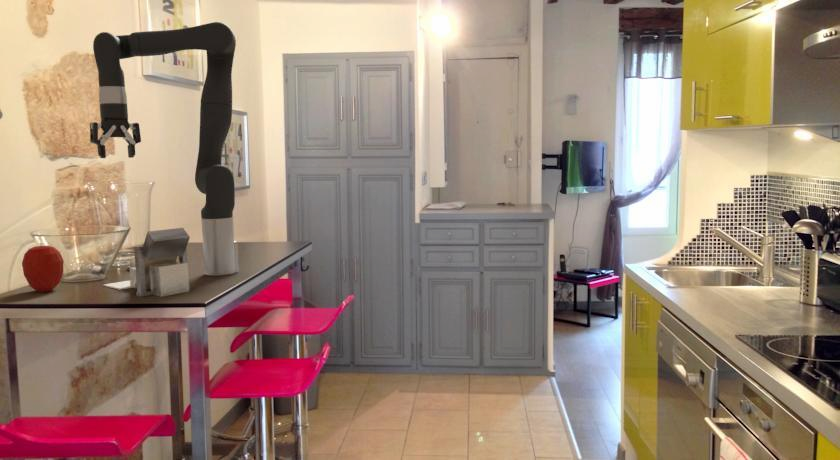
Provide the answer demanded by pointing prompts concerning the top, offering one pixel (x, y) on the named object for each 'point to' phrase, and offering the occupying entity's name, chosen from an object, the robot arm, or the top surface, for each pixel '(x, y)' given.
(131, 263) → the decorative stone
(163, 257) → the trapdoor
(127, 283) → the mat
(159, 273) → the frame
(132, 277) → the stone block
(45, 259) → the apple
